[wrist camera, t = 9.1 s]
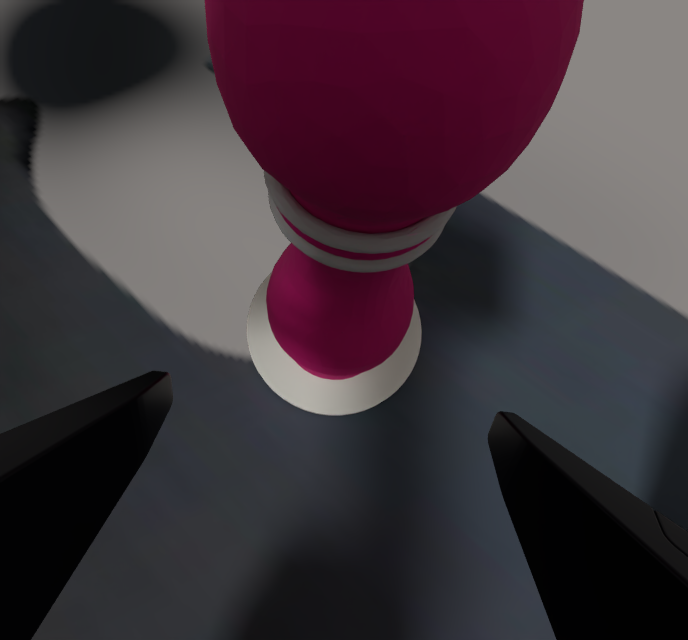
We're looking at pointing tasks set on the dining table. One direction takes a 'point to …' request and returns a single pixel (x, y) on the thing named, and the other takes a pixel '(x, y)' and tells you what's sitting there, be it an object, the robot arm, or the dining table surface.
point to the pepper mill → (377, 143)
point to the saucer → (318, 391)
